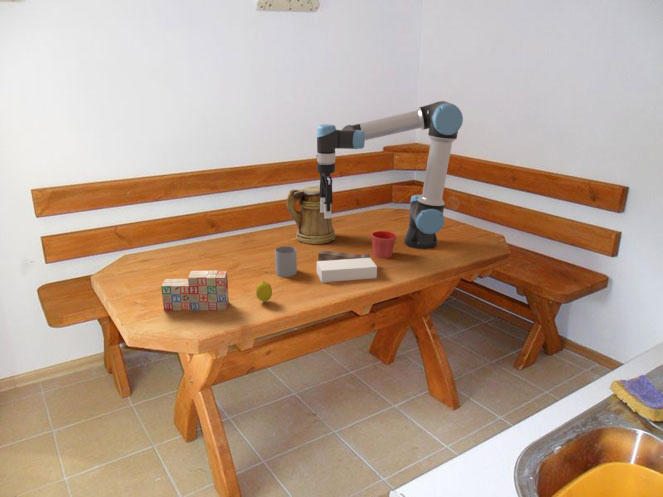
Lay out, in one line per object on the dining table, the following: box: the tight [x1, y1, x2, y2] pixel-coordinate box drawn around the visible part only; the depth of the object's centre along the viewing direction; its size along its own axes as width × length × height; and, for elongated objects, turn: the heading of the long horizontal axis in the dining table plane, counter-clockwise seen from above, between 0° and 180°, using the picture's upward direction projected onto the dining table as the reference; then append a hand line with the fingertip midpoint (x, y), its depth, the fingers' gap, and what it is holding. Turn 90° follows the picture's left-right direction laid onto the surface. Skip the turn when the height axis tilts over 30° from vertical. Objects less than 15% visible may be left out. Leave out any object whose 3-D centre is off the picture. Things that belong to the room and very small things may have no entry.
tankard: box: [286, 185, 336, 245], centre depth 248 cm, size 18×24×25 cm
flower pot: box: [371, 230, 397, 259], centre depth 232 cm, size 11×11×10 cm
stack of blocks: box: [161, 269, 230, 311], centre depth 183 cm, size 21×6×12 cm, turn 93°
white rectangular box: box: [316, 257, 378, 284], centre depth 211 cm, size 22×10×5 cm, turn 102°
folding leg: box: [317, 249, 371, 261], centre depth 222 cm, size 22×4×5 cm, turn 72°
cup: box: [274, 245, 298, 278], centre depth 212 cm, size 8×8×10 cm
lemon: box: [255, 281, 273, 303], centre depth 187 cm, size 6×6×8 cm
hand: (325, 215), depth 230 cm, fingers open, 8 cm apart
